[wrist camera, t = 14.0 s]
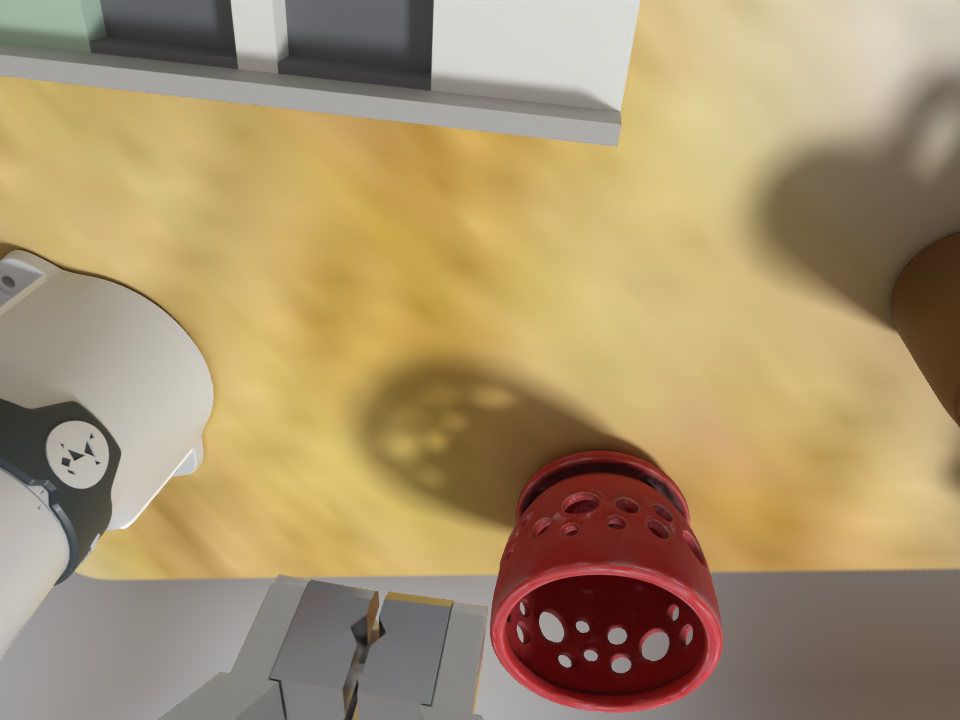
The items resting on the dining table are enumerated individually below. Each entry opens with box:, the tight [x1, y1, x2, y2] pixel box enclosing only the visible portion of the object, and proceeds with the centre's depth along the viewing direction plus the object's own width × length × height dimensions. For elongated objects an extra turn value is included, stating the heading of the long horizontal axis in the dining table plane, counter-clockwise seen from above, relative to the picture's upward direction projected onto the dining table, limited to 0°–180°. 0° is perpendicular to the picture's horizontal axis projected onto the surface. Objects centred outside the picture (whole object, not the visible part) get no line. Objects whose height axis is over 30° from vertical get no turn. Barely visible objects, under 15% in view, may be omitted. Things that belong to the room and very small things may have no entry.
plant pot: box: [490, 450, 723, 713], centre depth 46 cm, size 13×13×12 cm
